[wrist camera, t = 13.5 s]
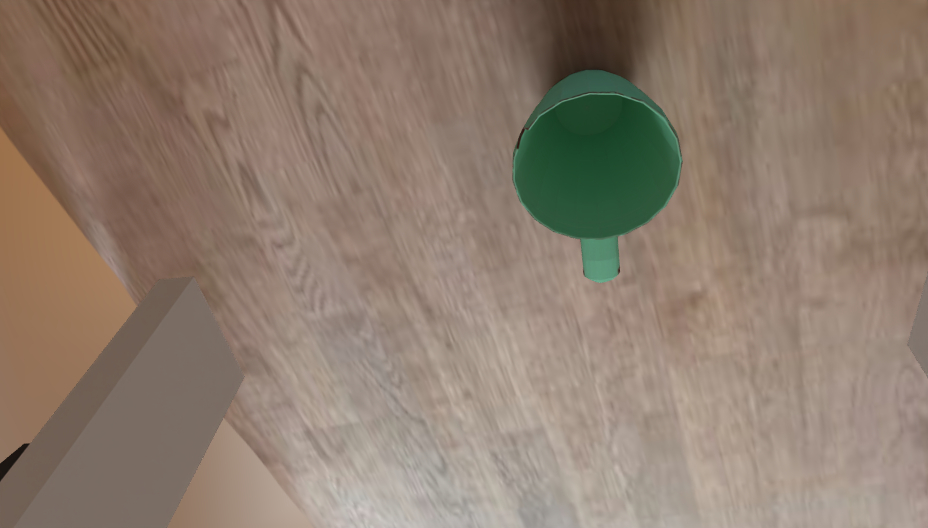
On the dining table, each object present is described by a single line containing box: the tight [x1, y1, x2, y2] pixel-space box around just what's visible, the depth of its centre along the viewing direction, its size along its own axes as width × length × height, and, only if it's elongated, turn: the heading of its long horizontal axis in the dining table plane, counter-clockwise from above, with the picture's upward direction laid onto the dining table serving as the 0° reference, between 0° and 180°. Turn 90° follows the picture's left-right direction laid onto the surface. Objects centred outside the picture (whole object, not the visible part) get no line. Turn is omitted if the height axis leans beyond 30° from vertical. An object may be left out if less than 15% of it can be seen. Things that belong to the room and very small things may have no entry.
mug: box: [513, 70, 683, 283], centre depth 44 cm, size 15×10×10 cm
